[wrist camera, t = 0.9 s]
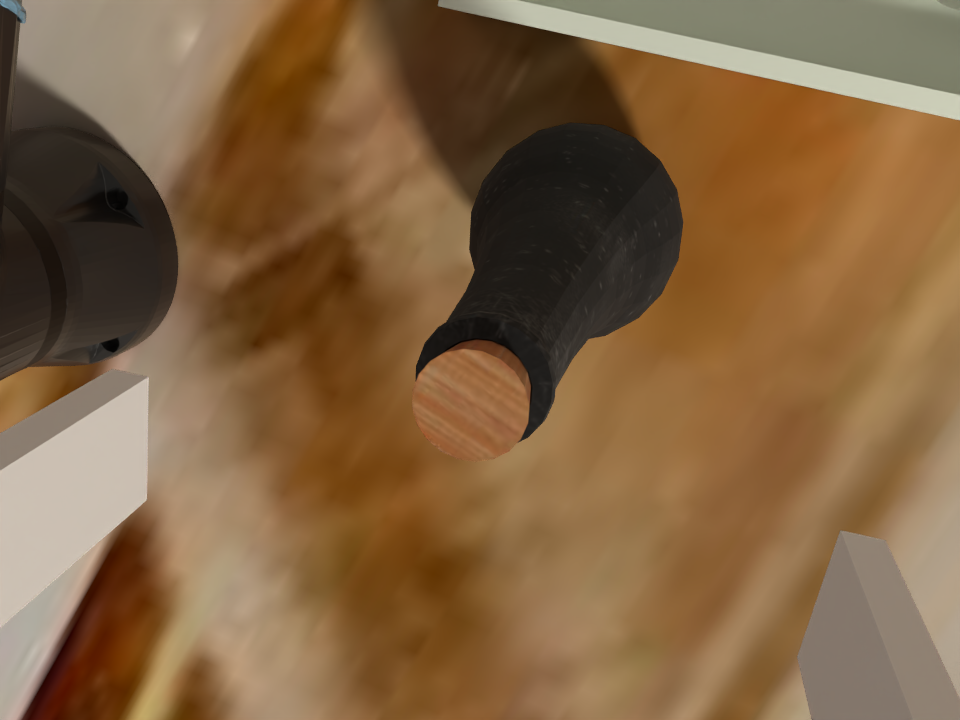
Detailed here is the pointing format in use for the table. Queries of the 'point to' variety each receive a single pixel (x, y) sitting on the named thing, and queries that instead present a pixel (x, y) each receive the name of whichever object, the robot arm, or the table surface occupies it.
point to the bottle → (545, 281)
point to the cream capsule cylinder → (951, 3)
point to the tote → (776, 40)
